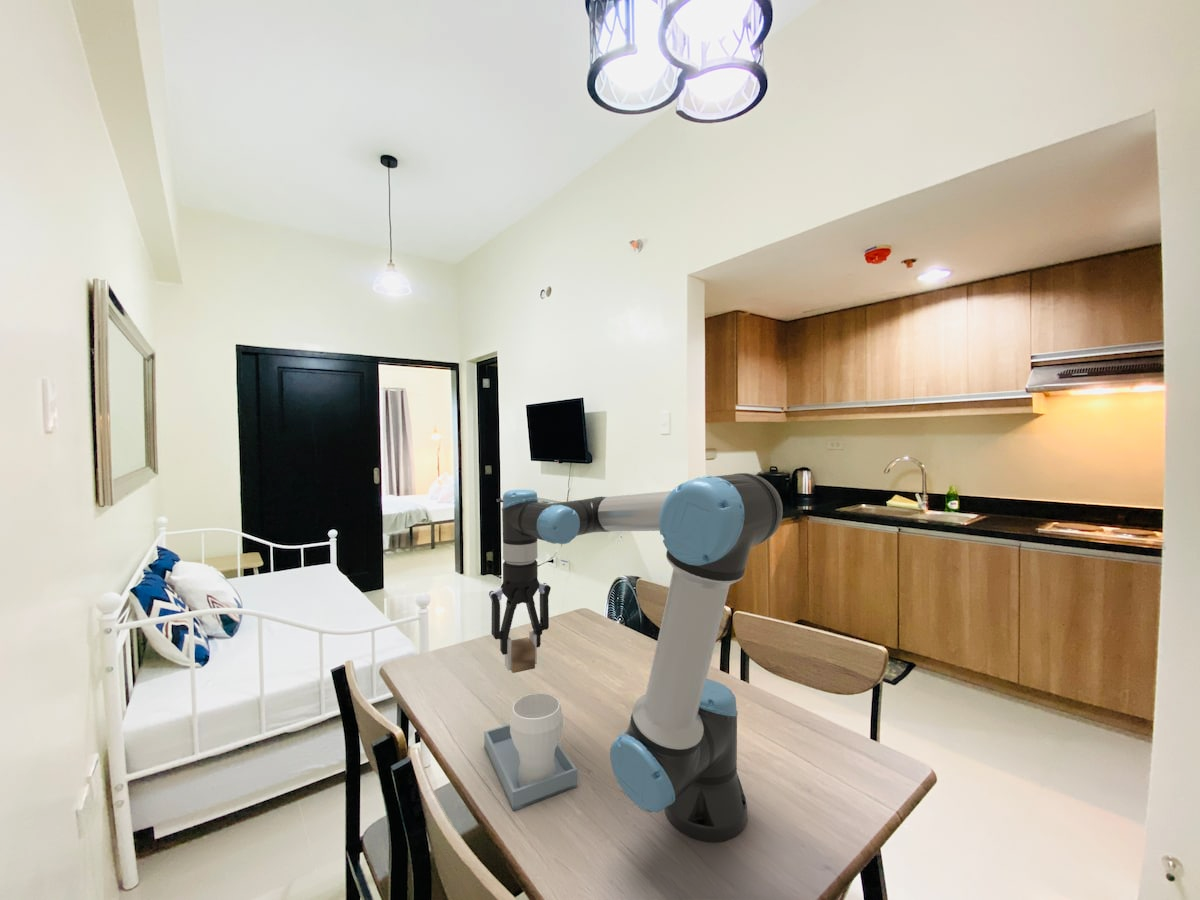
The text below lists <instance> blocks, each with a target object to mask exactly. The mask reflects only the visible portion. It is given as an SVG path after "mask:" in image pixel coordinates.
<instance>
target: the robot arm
mask: <svg viewBox="0 0 1200 900" xmlns="http://www.w3.org/2000/svg"><path fill="white" fill-rule="evenodd" d="M783 509H784V508H783V503H782V499H781V496H780V494H779V492H778V490H777V489H776V488H775V487H774V485H772V484H771V483H770V482H769V481H768V480H766V478H763V477H762V476H759V475H757V474H752V473H748V472H747V473H746V472H744V473H742V472H741V473H733V474H732V473H731V474H725V475H716V476H713V475H707V476H706V475H704V476H700V477H695V478H694V479H691V480H687V481H685V482H682V483H681V484H678V486H675V487H674V488H673V489H672V490H669V491H667V490H666V491H657V492H650V493H649V492H647V493H646V492H644V493H634V494H625V495H624V494H623V495H615V496H611V495H610V496H595V497H591V498H584V499H579V500H577V499H576V500H570V501H563V502H562V501H561V502H560V501H559V502H555V503H553V502H552V503H547V502H539V499H538V493H537V492H536V491H535V490H532V489H512V490H511V489H510V490H506V491H505V492H504V493H503V495H502V508H501V511H502V513H501V515H502V516H501V517H502V560H503V562H502V584H501V586H500V588H498V589H497V590H495V591H494V590H491V591H489V593H488V596H489V598H490V601H491V635H492V637H493V638H494V639H495V640H500V641H499V642H500V644H499V646H500V649H499V651H500V652H501V655H503V656H504V666H505V668H506V669H507V671H511V640H512V639H511V637H509V635H510V631H511V628H512V623H513V619H514V615H515V610H516V609H517V606H518V605H520V604H522V603H523V604H525V605H526V609H527V613H528V616H529V620H530V624H531V628H532V630H530V631H529V637H528V638H529V639H530V641H531V642H532V643H533V644H534V645H535V665H537V663H538V662H537V659H538V658H537V657H538V654H537V652H538V651H537V650H538V649H537V648H540V647H541V643H542V642H541V641H542V640H541V638H542V637H541V635H542V634H543V631H546V630H548V629H549V627H550V626H549V625H550V624H549V623H550V622H549V619H550V617H549V615H550V614H549V609H550V608H549V595H550V591H551V588H552V587H551V586H550V585H549V584H548V583H546V582H544V583H541V582H540V581H539V580H538V561H537V559H538V540H540V541H544V542H547V543H551V544H559V545H565V544H569V543H570V542H572V541H573V540H574V539H575V538H577V536H582V535H586V534H592V533H607V532H608V533H609V532H658V531H659V533H660V536H661V535H662V537H663V540H662V543H663V545H664V546H665V548H666V554H665V557H666V560H667V562H668V563H669V564H670V565H671V567H672V574H671V579H670V583H669V586H668V587H669V588H668V590H667V591H668V592H667V596H666V600H665V606H664V610H663V614H662V620H661V624H660V628H659V631H658V632H659V633H658V637H657V641H656V646H655V649H654V650H655V652H654V654H653V660H652V664H651V669H650V674H649V678H648V683H647V687H646V691H645V694H643V695H641V696H640V697H638V699H636V701H635V703H634V705H633V707H632V710H631V711H632V712H631V715H630V719H629V723H628V724H629V725H628V727H627V730H626V731H625V732H624V733H620V734H618V736H616V738H615V739H614V741H613V742H612V743H611V747H610V750H609V752H610V753H609V758H610V765H611V769H612V772H613V774H614V776H615V778H616V781H617V783H618V785H619V787H620V788H621V790H622V791H623V793H624V794H625V796H626V797H627V798H628V799H629V800H630V801H631V802H632V804H634V805H635V806H637V807H638V808H640V809H641V810H643V811H645V812H648V813H654V814H655V813H660V812H661V811H663V810H664V813H665V816H666V817H667V819H668V821H669V822H670V823H671V825H673V826H674V828H676V829H677V830H678V831H679V832H681V833H682V834H684V835H686V836H687V837H690V838H692V839H695V840H699V841H703V842H709V843H710V842H711V843H712V842H713V843H716V842H717V843H718V842H725V841H727V840H728V841H729V840H731V839H733V838H735V837H736V836H738V835H739V834H740V833H741V832H742V831H743V830H744V828H745V827H746V824H747V818H748V804H747V803H748V802H747V799H746V796H745V792H744V790H743V786H742V783H741V781H740V777H739V774H738V770H737V769H738V768H737V767H738V766H737V765H738V759H737V758H738V757H737V755H738V751H737V750H738V714H739V712H738V710H737V698H736V696H735V693H733V692H732V690H731V689H730V688H729V687H728V686H726V685H725V684H723V683H721V682H719V681H715V680H713V679H710V678H709V679H708V678H707V677H708V673H709V670H710V666H711V661H712V656H713V655H714V649H715V647H716V646H715V645H716V642H717V637H718V634H719V631H720V625H721V622H722V618H723V614H724V609H725V606H726V602H727V598H728V593H729V589H730V587H731V586H730V585H732V584H735V583H738V582H739V581H741V580H742V579H743V578H744V575H745V571H746V567H747V562H748V559H749V556H750V551H751V548H752V547H755V546H758V545H760V544H762V543H765V542H766V541H767V540H769V539H771V538H772V537H773V535H774V534H775V533H776V532H777V531H778V529H779V528H780V525H781V524H782V523H781V522H782V519H783V513H784V512H783ZM537 591H538V593H539V617H538V612H537V610H536V604H535V600H534V596H535V594H536V593H537ZM503 594H504V596H505V597H506V598H507V599H506V603H505V605H506V606H505V610H504V615H503V618H502V623H501V604H500V603H501V602H500V601H501V600H502V595H503Z"/></svg>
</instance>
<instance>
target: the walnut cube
mask: <svg viewBox="0 0 1200 900" xmlns="http://www.w3.org/2000/svg"><path fill="white" fill-rule="evenodd" d="M534 669H536V664H535V645H534V644H533V643H532V642H531V641H530V639H529V637H523V638H522V637H521V638H515V639H511V670H510V672H511V673H512V674H516V673H520V672H525V671H529V670H530V671H531V670H534Z"/></svg>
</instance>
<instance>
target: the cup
mask: <svg viewBox="0 0 1200 900" xmlns="http://www.w3.org/2000/svg"><path fill="white" fill-rule="evenodd" d="M509 724H510V734H511V737H512V740H513V743H514V745H515V747H516V749H517V751H518V753H519V759H520V767H519V773H518V784H519V786H520V787H524V786H526V785H529V784H532V783H535V782H537V781H540V780H543V779H546V778H549V777H551V776H554V775H556V769H555V763H554V754H555V748H556V746H557V744H558V742H559V743H560V740H561V736H562V732H563V728H564V715H563V711H562V706H561V703H560V700H559V699H558V698H557V697H556V696H554V695H552V694H550V693H545V692H536V693H535V692H534V693H530V694H526V695H523V696H521V697H518V699H516V700H515V701H514V703H513V705H512V708H511V711H510V716H509Z"/></svg>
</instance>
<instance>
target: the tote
mask: <svg viewBox="0 0 1200 900" xmlns="http://www.w3.org/2000/svg"><path fill="white" fill-rule="evenodd" d="M483 734H484V735H483V738H484V739H483V740H484V741H483V742H484V746H483V747H484V749H485V751H486V754H487V756H488V758H489V760H490V762H491V765H492V767H493V769H494V771H495V774H496V776H497V778H498V780H499V782H500V785H501V787H502V789H503V792H504V793H505V796H506V799H507V801H508V803H509V804H510V807H511V810H512V811H513V812H516V811H517V810H520V809H523V808H525V807H528V806H531V805H533V804H536V803H538V802H542V801H543V800H547V799H549V798H552V797H554V796H557V795H559V794H562V793H565V792H567V791H570V790H573V789H576V788H578V783H579V782H578V768H577V766H576V765H575V764H574V762H573V761H572V760H571V758H570V757H569V756H568V754H567V752H566V751H565V749H564V748H563V746H562V745H561V744H560V741H559V742H558V744H557V746H556V748H555V754H554V763H555V769H556V775H554V776H551V777H549V778H546V779H543V780H540V781H537V782H535V783H532V784H529V785H526V786H524V787H520V786H519V784H518V773H519V767H520V759H519V753H518V751H517V749H516V747H515V745H514V743H513V740H512V737H511V734H510V723H508V724H505V725H502V726H499V727H498V726H497V727H495V728H491V729H487V730H485V731H483Z"/></svg>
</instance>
